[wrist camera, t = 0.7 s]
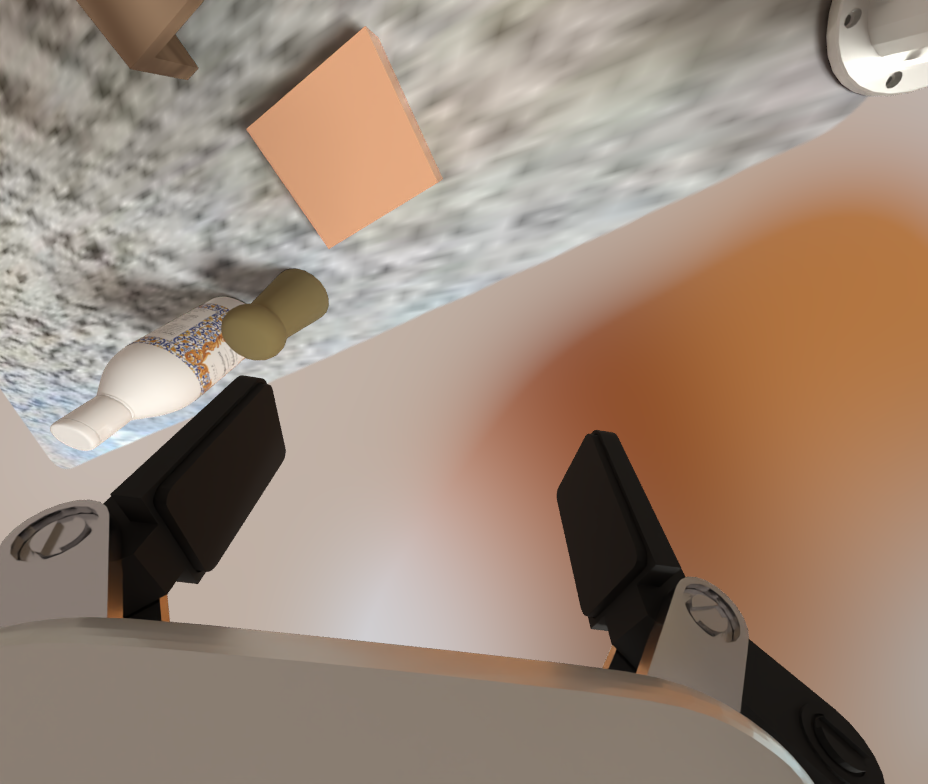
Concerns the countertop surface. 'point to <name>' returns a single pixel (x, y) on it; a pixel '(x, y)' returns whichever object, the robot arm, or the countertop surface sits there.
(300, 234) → the countertop surface
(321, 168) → the tile
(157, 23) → the shelf
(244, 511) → the robot arm
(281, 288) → the cork
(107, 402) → the bath foam
